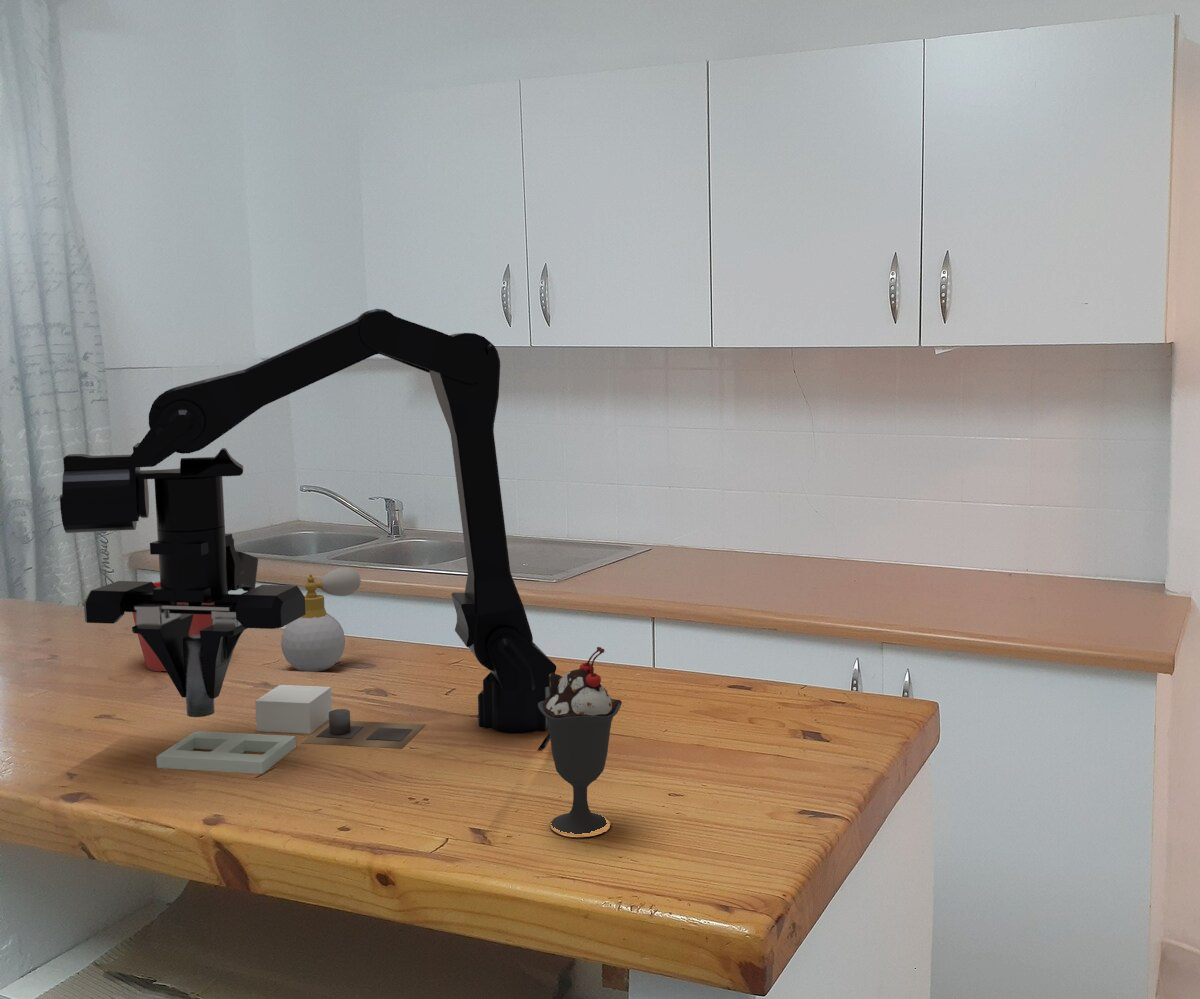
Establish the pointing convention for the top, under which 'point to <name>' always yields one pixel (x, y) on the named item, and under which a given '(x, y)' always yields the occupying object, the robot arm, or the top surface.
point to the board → (362, 732)
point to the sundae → (579, 738)
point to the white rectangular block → (293, 709)
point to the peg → (195, 679)
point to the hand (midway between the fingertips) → (200, 696)
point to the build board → (227, 752)
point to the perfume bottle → (319, 624)
